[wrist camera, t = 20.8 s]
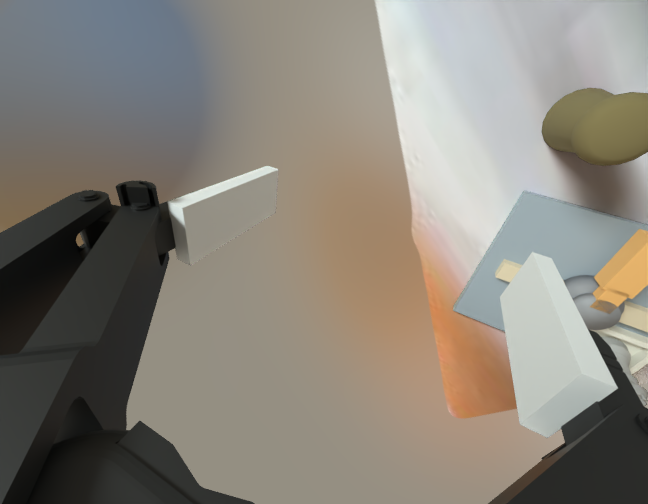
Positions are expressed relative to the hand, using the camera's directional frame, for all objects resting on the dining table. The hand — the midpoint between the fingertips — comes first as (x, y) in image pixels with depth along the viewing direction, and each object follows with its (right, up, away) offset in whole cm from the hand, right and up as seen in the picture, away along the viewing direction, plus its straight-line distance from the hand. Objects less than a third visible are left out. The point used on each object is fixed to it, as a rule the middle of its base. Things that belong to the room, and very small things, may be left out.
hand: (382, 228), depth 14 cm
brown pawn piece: (+24, +12, +15) cm, 30 cm away
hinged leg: (+30, -4, +17) cm, 35 cm away
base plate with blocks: (+30, -6, +22) cm, 37 cm away
